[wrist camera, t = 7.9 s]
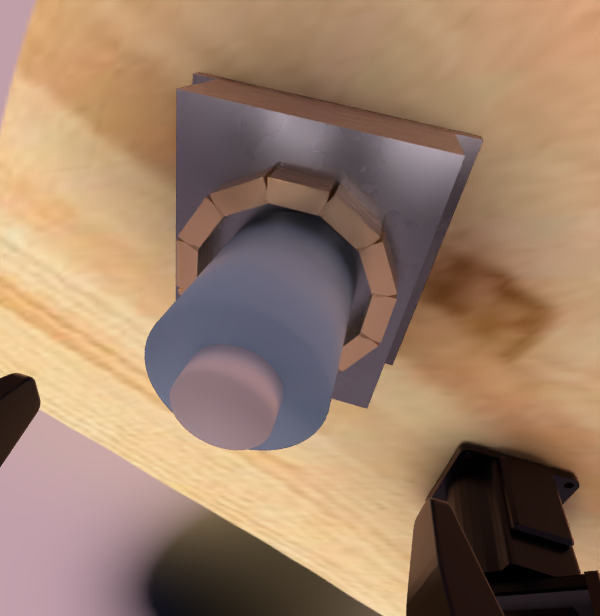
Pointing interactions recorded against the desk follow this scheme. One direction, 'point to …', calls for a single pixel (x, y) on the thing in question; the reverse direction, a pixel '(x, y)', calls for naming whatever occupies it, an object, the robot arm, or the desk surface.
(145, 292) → the desk surface
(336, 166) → the grey square ring base
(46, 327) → the desk surface
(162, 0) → the desk surface
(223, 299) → the light blue tapered cylinder
